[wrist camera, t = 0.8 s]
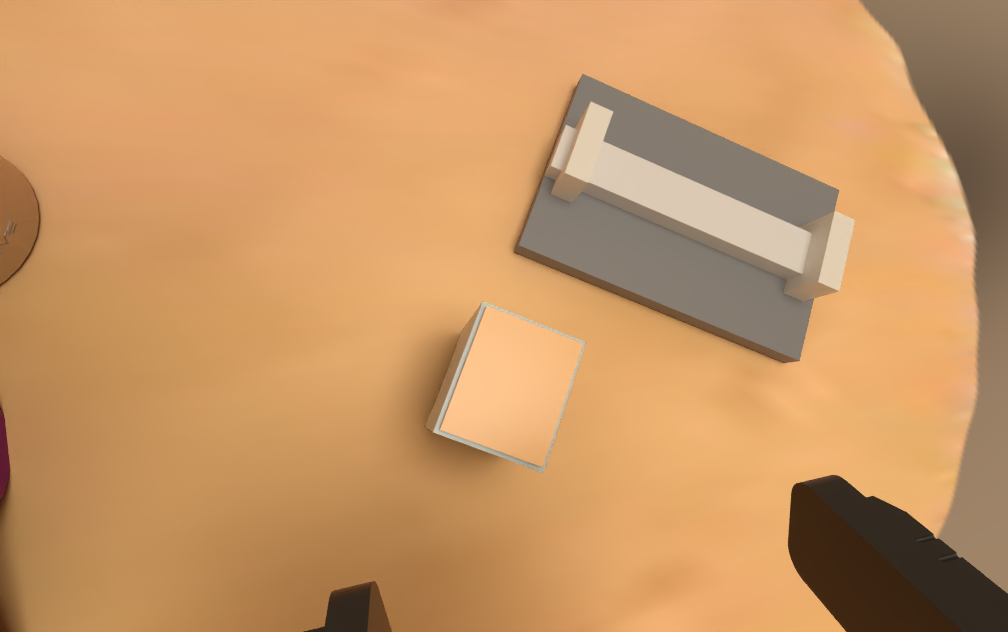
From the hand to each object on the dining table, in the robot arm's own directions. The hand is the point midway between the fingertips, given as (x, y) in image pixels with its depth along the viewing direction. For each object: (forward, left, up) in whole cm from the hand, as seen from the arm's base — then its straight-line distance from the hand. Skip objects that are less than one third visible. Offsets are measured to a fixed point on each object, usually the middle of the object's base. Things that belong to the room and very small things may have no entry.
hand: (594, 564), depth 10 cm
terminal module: (-1, +4, -23) cm, 23 cm away
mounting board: (+5, +21, -23) cm, 31 cm away
